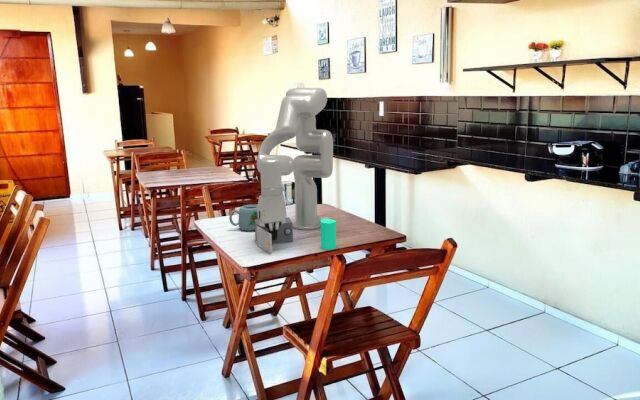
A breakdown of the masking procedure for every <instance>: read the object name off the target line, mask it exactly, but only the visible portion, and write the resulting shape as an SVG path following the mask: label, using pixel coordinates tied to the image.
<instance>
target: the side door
mask: <svg viewBox="0 0 640 400" xmlns="http://www.w3.org/2000/svg"><path fill="white" fill-rule="evenodd" d="M255 241H256V242H255V243H256V245H257V246H259V247H260V248H261V249H263V250H264V251H266V252H267V253H269V254H272V253H273V244H272V234H270V233H269V232H267V231H265V230H264V229H262V228H260V227H259V226H256V239H255Z"/></svg>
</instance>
